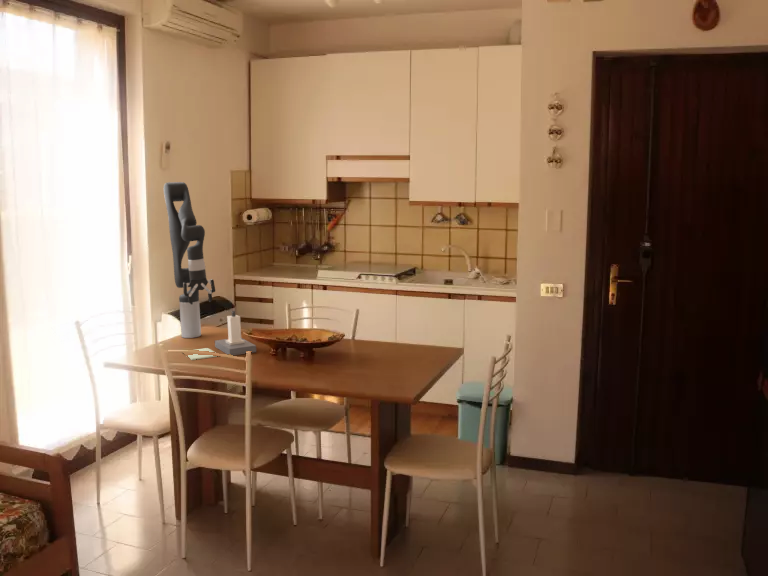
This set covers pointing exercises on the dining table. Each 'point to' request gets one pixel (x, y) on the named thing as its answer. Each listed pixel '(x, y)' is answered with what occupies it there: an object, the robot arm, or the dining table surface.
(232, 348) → the grey slotted block
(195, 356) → the mat
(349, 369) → the dining table surface
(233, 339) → the plug
